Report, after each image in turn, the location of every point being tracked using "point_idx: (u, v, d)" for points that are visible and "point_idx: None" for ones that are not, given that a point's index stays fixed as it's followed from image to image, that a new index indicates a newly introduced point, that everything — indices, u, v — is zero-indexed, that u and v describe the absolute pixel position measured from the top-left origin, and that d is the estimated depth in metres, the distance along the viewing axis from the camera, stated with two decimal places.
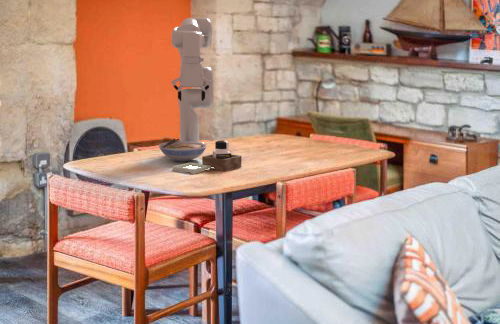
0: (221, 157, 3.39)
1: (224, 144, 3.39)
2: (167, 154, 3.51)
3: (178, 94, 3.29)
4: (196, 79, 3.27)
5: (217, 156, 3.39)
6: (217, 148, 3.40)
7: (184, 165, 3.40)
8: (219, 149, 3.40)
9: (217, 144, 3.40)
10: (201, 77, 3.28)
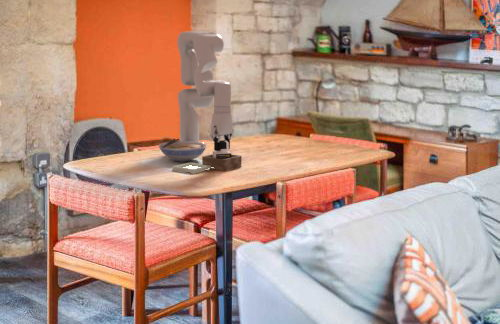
0: (221, 157, 3.39)
1: (224, 144, 3.39)
2: (167, 154, 3.51)
3: (217, 145, 3.38)
4: (229, 127, 3.41)
5: (217, 156, 3.39)
6: None
7: (184, 165, 3.40)
8: None
9: None
10: (231, 124, 3.42)
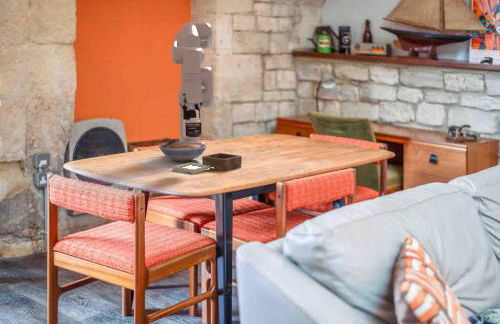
0: (191, 126, 3.29)
1: (194, 113, 3.29)
2: (167, 154, 3.51)
3: (186, 113, 3.28)
4: (198, 95, 3.30)
5: (186, 125, 3.28)
6: None
7: (184, 165, 3.40)
8: None
9: None
10: (201, 93, 3.32)
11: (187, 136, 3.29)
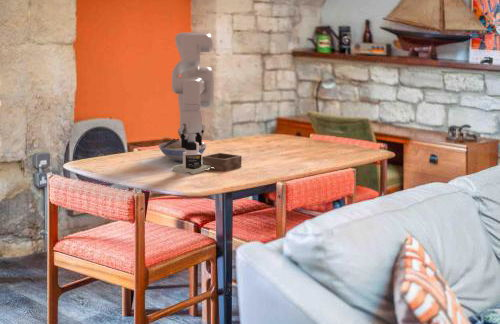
0: (191, 158, 3.31)
1: (194, 145, 3.31)
2: (167, 154, 3.51)
3: (184, 142, 3.29)
4: (198, 125, 3.33)
5: (186, 158, 3.31)
6: (187, 149, 3.32)
7: None
8: (189, 150, 3.32)
9: None
10: (201, 122, 3.34)
11: None
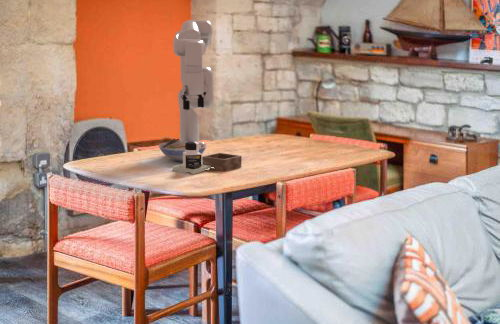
0: (191, 158, 3.31)
1: (194, 145, 3.31)
2: (167, 154, 3.51)
3: (186, 103, 3.31)
4: (200, 87, 3.34)
5: (186, 158, 3.31)
6: (187, 149, 3.32)
7: None
8: (189, 150, 3.32)
9: (187, 145, 3.32)
10: (203, 84, 3.36)
11: None
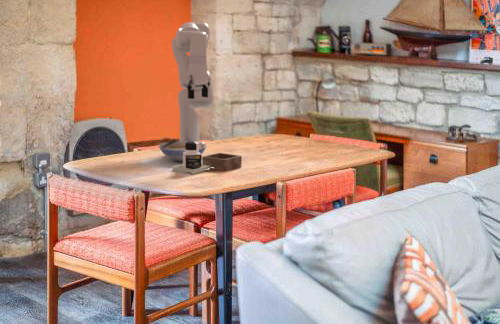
0: (191, 158, 3.31)
1: (194, 145, 3.31)
2: (167, 154, 3.51)
3: (191, 92, 3.41)
4: (204, 77, 3.45)
5: (186, 158, 3.31)
6: (187, 149, 3.32)
7: None
8: (189, 150, 3.32)
9: (187, 145, 3.32)
10: (207, 75, 3.46)
11: None
